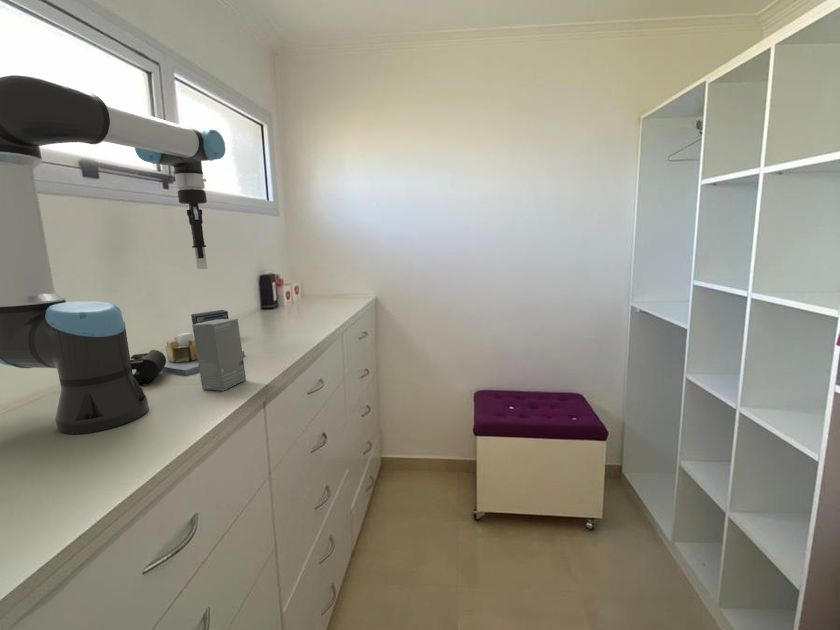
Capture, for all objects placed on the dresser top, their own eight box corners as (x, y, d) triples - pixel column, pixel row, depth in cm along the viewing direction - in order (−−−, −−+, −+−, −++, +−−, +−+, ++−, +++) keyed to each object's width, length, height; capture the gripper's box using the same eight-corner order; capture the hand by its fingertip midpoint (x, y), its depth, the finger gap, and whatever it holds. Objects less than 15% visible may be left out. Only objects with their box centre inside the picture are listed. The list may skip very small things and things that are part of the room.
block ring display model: (186, 375, 114) (181, 344, 113) (143, 368, 123) (138, 339, 121) (244, 356, 131) (241, 328, 129) (202, 351, 139) (199, 324, 138)
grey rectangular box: (223, 392, 101) (214, 324, 98) (199, 389, 103) (189, 324, 100) (248, 380, 109) (240, 317, 106) (225, 378, 111) (217, 316, 108)
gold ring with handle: (163, 363, 120) (160, 344, 119) (176, 353, 130) (173, 336, 129) (224, 357, 123) (222, 339, 122) (233, 349, 133) (230, 331, 132)
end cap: (161, 383, 109) (156, 357, 108) (128, 388, 107) (123, 361, 106) (168, 372, 118) (164, 348, 117) (138, 376, 116) (133, 351, 115)
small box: (226, 337, 157) (223, 308, 155) (232, 340, 152) (228, 310, 150) (194, 343, 150) (190, 313, 148) (199, 346, 145) (195, 315, 144)
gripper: (207, 187, 127) (217, 269, 131) (203, 192, 138) (213, 267, 143) (177, 187, 123) (189, 271, 128) (176, 191, 134) (187, 268, 139)
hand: (202, 268), depth 135 cm, fingers closed
